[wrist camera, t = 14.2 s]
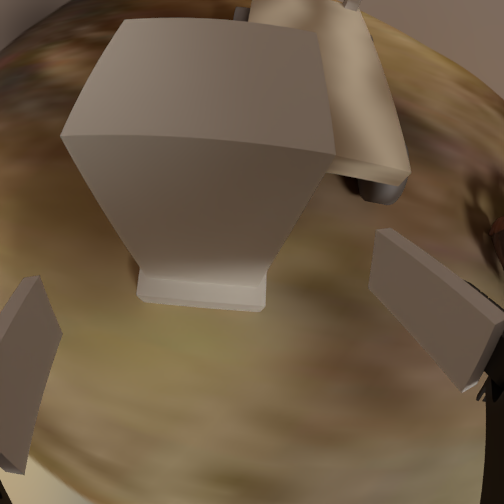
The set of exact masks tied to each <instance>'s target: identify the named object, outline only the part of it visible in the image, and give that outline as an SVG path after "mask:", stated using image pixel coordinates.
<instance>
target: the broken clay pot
mask: <svg viewBox="0 0 504 504" xmlns="http://www.w3.org/2000/svg"><path fill="white" fill-rule="evenodd" d="M489 235H490V236H492V240H493V243H494V247H495V250H496V252H497V255H498V258H499V260H500V263H501V264H502V267H503V270H504V216H503V217H499V218H497V219H496V221H495V222H494V223H493V225H492V227H491V229H490V232H489Z"/></svg>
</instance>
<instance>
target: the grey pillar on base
mask: <svg viewBox="0 0 504 504" xmlns="http://www.w3.org/2000/svg"><path fill="white" fill-rule="evenodd" d="M60 137H61V139H62V140H63V142H64V144H65V146H66V148H67V150H68V152H69V153H70V155H71V157H72V159H73V161H74V162H75V164H76V166H77V168H78V170H79V171H80V173H81V175H82V177H83V178H84V180H85V182H86V183H87V185H88V187H89V189H90V190H91V192H92V194H93V195H94V197H95V199H96V200H97V202H98V204H99V205H100V207H101V208H102V210H103V212H104V213H105V215H106V216H107V218H108V220H109V221H110V223H111V224H112V226H113V228H114V229H115V231H116V232H117V234H118V235H119V237H120V238H121V240H122V241H123V243H124V245H125V246H126V248H127V249H128V251H129V252H130V254H131V255H132V257H133V258H134V260H135V261H136V262H137V264H138V265H139V267H140V271H139V278H138V285H137V293H136V295H137V296H138V297H139V298H140V299H141V300H142V301H143V302H149V303H158V304H168V305H179V306H189V307H201V308H213V309H225V310H239V311H254V312H260V311H261V310H262V309H263V308H264V307H265V300H266V272H267V270H268V268H269V267H270V265H271V263H272V262H273V260H274V258H275V257H276V255H277V254H278V252H279V250H280V249H281V247H282V245H283V244H284V242H285V240H286V239H287V237H288V235H289V234H290V232H291V230H292V229H293V227H294V225H295V224H296V222H297V220H298V219H299V217H300V215H301V213H302V212H303V210H304V208H305V207H306V205H307V203H308V202H309V200H310V198H311V197H312V195H313V193H314V192H315V190H316V188H317V186H318V185H319V183H320V181H321V180H322V178H323V176H324V174H325V173H326V171H327V169H328V168H329V166H330V164H331V162H332V161H333V159H334V157H335V156H336V151H335V143H334V135H333V128H332V120H331V113H330V106H329V100H328V93H327V87H326V81H325V75H324V70H323V64H322V58H321V53H320V48H319V43H318V38H317V33H315V32H310V31H305V30H300V29H294V28H289V27H283V26H276V25H270V24H262V23H254V22H245V21H235V20H223V19H206V18H144V19H128V20H124V21H123V23H122V24H121V26H120V27H119V29H118V30H117V32H116V33H115V35H114V36H113V38H112V39H111V41H110V43H109V44H108V46H107V47H106V49H105V51H104V52H103V54H102V56H101V57H100V59H99V61H98V62H97V64H96V66H95V67H94V69H93V71H92V73H91V75H90V76H89V78H88V80H87V82H86V84H85V85H84V87H83V89H82V91H81V93H80V95H79V97H78V99H77V101H76V103H75V105H74V107H73V109H72V111H71V113H70V115H69V117H68V120H67V122H66V124H65V126H64V128H63V131H62V133H61V135H60Z"/></svg>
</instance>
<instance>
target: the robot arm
mask: <svg viewBox="0 0 504 504" xmlns="http://www.w3.org/2000/svg"><path fill="white" fill-rule="evenodd" d="M368 289H369V290H370V291H371V292H372V293H373V294H374V295H375V296H376V297H377V298H378V299H379V300H380V301H381V302H382V303H383V305H384V306H385V307H386V308H387V309H388V310H389V311H390V312H391V313H392V314H393V315H394V316H395V317H396V319H397V320H398V321H399V322H400V323H401V324H402V325H403V326H404V327H405V328H406V330H407V331H408V332H409V333H410V334H411V335H412V336H413V337H414V338H415V340H416V341H417V342H418V343H419V344H420V345H421V346H422V347H423V348H424V350H425V351H426V352H427V353H428V354H429V355H430V356H431V358H432V359H433V360H434V361H435V362H436V363H437V364H438V366H439V367H440V368H441V369H442V370H443V371H444V373H445V374H446V375H447V376H448V377H449V378H450V380H451V381H452V382H453V383H454V384H455V386H456V387H457V388H458V389H459V390H460V392H461V393H462V392H464V391H466V390H467V389H469V388H471V387H473V386H474V385H476V384H477V383H478V381H479V379H480V377H481V375H482V373H483V372H484V371H485V372H486V373H487V374H488V375H489V376H488V378H487V380H486V381H485V383H484V385H483V387H482V388H481V390H480V392H479V393H478V395H477V399H476V400H477V401H479V400H480V398H481V396H482V395H483V393H486V396H485V397H484V399H483V401H485V402H486V446H485V463H484V475H483V484H482V493H481V500H480V504H504V309H502V308H501V307H500V306H499V305H498V304H496V303H495V302H494V301H493V300H491V299H490V298H489V299H488V296H486V295H485V294H484V293H483V292H480V290H479V289H478V288H476V287H475V286H474V285H472V284H471V283H469V282H467V281H465V280H463V279H461V278H460V277H459V276H458V275H456V274H455V273H454V272H452V271H451V270H450V269H448V268H447V267H446V266H444V265H443V264H441V263H440V262H439V261H437V260H436V259H435V258H433V257H432V256H431V255H429V254H428V253H426V252H425V251H424V250H422V249H421V248H419V247H418V246H416V245H415V244H414V243H412V242H411V241H409V240H408V239H406V238H405V237H403V236H402V235H401V234H399V233H398V232H396V231H395V230H393V229H392V228H386V229H378V230H376V233H375V242H374V250H373V257H372V264H371V271H370V278H369V285H368ZM62 334H63V333H62V331H61V329H60V326H59V324H58V322H57V319H56V317H55V315H54V312H53V310H52V307H51V305H50V302H49V300H48V297H47V294H46V292H45V289H44V286H43V283H42V281H41V278H40V275H39V276H32V277H25V278H23V280H22V281H21V283H20V284H19V285H18V287H17V288H16V290H15V291H14V293H13V294H12V296H11V297H10V299H9V300H8V302H7V303H6V305H5V307H4V308H3V310H2V311H1V313H0V467H1V468H2V469H3V470H4V471H5V472H10V473H16V474H23V475H24V474H25V469H26V463H27V458H28V453H29V448H30V444H31V439H32V435H33V431H34V426H35V422H36V418H37V414H38V411H39V407H40V403H41V400H42V396H43V392H44V389H45V386H46V382H47V379H48V376H49V373H50V369H51V366H52V363H53V360H54V357H55V354H56V351H57V348H58V346H59V343H60V340H61V337H62ZM0 504H12V503H11V500H10V498H9V496H8V495H7V493H6V491H5V489H4V487H3V485H2V483H1V480H0Z"/></svg>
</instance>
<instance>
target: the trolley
mask: <svg viewBox="0 0 504 504" xmlns="http://www.w3.org/2000/svg"><path fill="white" fill-rule="evenodd" d="M360 3H361V0H344V2H343V4H342V3H339V2H335V1H331V0H252V3H251V8H243V7H236V9H235V13H234V18H233V20H235V21H245V22H254V23H262V24H270V25H276V26H283V27H289V28H294V29H300V30H305V31H310V32H315V33H317V38H318V43H319V48H320V53H321V58H322V64H323V70H324V75H325V81H326V87H327V93H328V100H329V106H330V113H331V120H332V128H333V135H334V143H335V151H336V156H335V157H334V159H333V161H332V162H331V164H330V166H329V168H328V169H327V171H326V172H327V173H333V174H338V175H344V176H349V177H354V178H357V180H358V188H359V192H360V195H361V197H362V198H363V199H364V200H365V201H368V202H374V203H379V204H384V205H391V204H393V203H394V202H396V201H397V200H398V198H399V197H400V196H401V194H402V192H403V190H404V188H405V185H406V182H407V178H408V176H409V175H410V174H411V169H410V164H409V154H408V149H407V146H406V144H405V142H404V138H403V135H402V131H401V127H400V123H399V119H398V116H397V112H396V109H395V105H394V102H393V99H392V96H391V92H390V89H389V86H388V83H387V80H386V77H385V74H384V71H383V68H382V65H381V62H380V60H379V57H378V54H377V52H376V49H375V46H374V44H373V39H372V36H371V35H370V34H369V31H368V29H367V26H366V24H365V21H364V19H363V17H362V15H361V12H360V10H359V8H358V7H359V5H360Z"/></svg>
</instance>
